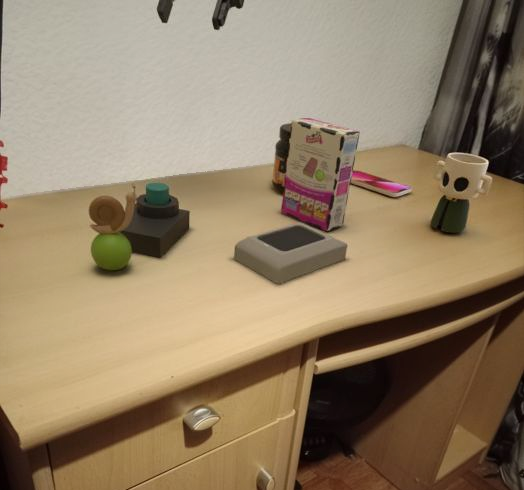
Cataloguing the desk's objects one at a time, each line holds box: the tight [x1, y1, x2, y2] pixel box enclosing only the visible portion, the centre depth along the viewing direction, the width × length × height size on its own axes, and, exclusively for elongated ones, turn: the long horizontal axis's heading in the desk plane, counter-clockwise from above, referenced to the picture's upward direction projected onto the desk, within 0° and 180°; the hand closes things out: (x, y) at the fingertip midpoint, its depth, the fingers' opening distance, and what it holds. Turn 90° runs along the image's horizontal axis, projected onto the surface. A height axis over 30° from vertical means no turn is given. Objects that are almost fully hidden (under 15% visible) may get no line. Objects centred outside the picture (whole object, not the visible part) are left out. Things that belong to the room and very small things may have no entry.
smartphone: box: [350, 170, 412, 198], centre depth 118 cm, size 7×1×15 cm
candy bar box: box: [280, 117, 361, 232], centre depth 94 cm, size 11×5×16 cm, turn 47°
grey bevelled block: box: [233, 221, 348, 285], centre depth 83 cm, size 10×4×15 cm
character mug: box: [430, 152, 493, 234], centre depth 97 cm, size 11×7×13 cm, turn 42°
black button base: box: [119, 193, 191, 259], centre depth 85 cm, size 13×9×5 cm
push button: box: [145, 182, 170, 205], centre depth 85 cm, size 4×4×2 cm
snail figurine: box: [88, 182, 138, 271], centre depth 73 cm, size 5×6×12 cm
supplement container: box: [271, 122, 291, 195], centre depth 108 cm, size 10×10×12 cm
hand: (188, 22), depth 82 cm, fingers open, 8 cm apart
